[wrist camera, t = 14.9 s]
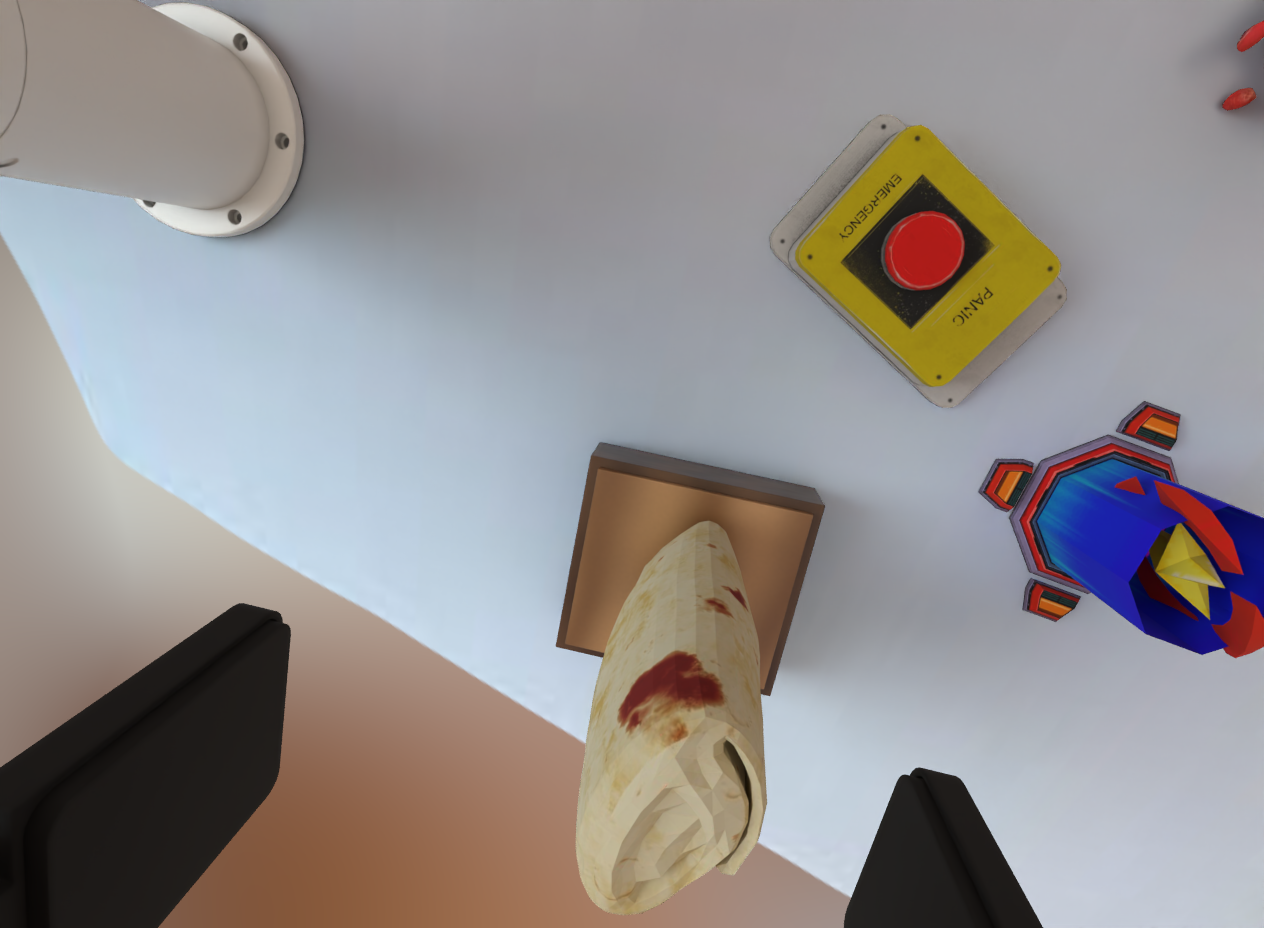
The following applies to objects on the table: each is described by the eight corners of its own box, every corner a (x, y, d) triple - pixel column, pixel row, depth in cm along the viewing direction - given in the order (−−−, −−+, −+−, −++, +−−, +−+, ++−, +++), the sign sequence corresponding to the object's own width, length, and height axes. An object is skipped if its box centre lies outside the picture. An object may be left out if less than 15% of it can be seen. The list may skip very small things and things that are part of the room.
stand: (566, 620, 46) (554, 650, 42) (599, 441, 43) (589, 456, 39) (764, 665, 45) (771, 700, 41) (815, 488, 42) (826, 507, 38)
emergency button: (905, 83, 32) (1116, 294, 33) (881, 108, 36) (1069, 294, 38) (769, 236, 34) (971, 427, 36) (762, 243, 39) (943, 413, 40)
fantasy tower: (969, 469, 41) (1077, 539, 29) (1173, 389, 38) (1377, 431, 27) (1030, 630, 43) (1152, 755, 31) (1226, 564, 41) (1436, 672, 29)
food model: (671, 489, 39) (642, 683, 19) (771, 540, 39) (842, 784, 20) (598, 621, 41) (510, 908, 22) (693, 669, 41) (687, 995, 22)
